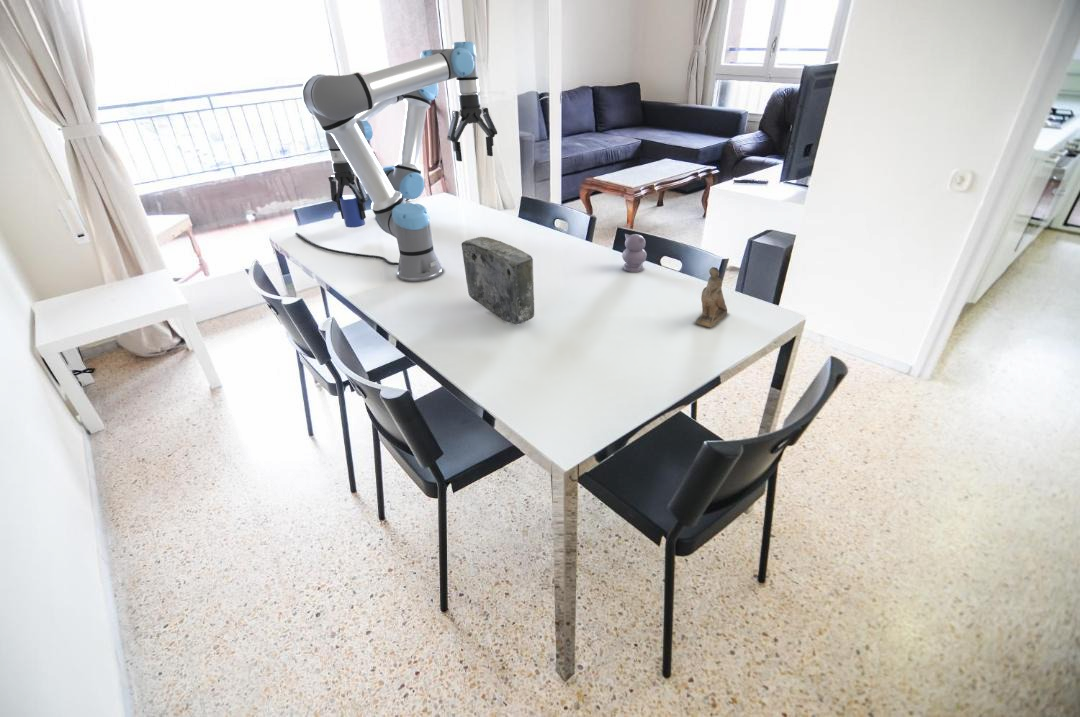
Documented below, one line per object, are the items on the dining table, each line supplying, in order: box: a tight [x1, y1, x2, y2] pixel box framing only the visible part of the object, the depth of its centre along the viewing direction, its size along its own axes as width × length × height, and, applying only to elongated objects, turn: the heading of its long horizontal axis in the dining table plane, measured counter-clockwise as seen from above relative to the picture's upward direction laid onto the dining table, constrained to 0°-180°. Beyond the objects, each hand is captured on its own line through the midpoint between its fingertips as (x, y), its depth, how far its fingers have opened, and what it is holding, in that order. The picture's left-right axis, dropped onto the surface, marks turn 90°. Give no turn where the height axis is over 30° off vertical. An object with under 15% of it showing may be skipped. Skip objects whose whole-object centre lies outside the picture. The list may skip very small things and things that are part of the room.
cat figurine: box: [621, 233, 648, 273], centre depth 170 cm, size 8×8×12 cm
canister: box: [339, 194, 366, 228], centre depth 208 cm, size 8×8×12 cm
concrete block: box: [461, 236, 535, 325], centre depth 141 cm, size 27×9×20 cm, turn 36°
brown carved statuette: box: [695, 266, 728, 328], centre depth 135 cm, size 12×6×18 cm, turn 136°
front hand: (475, 158), depth 185 cm, fingers open, 13 cm apart
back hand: (354, 218), depth 210 cm, fingers closed on canister, 8 cm apart
